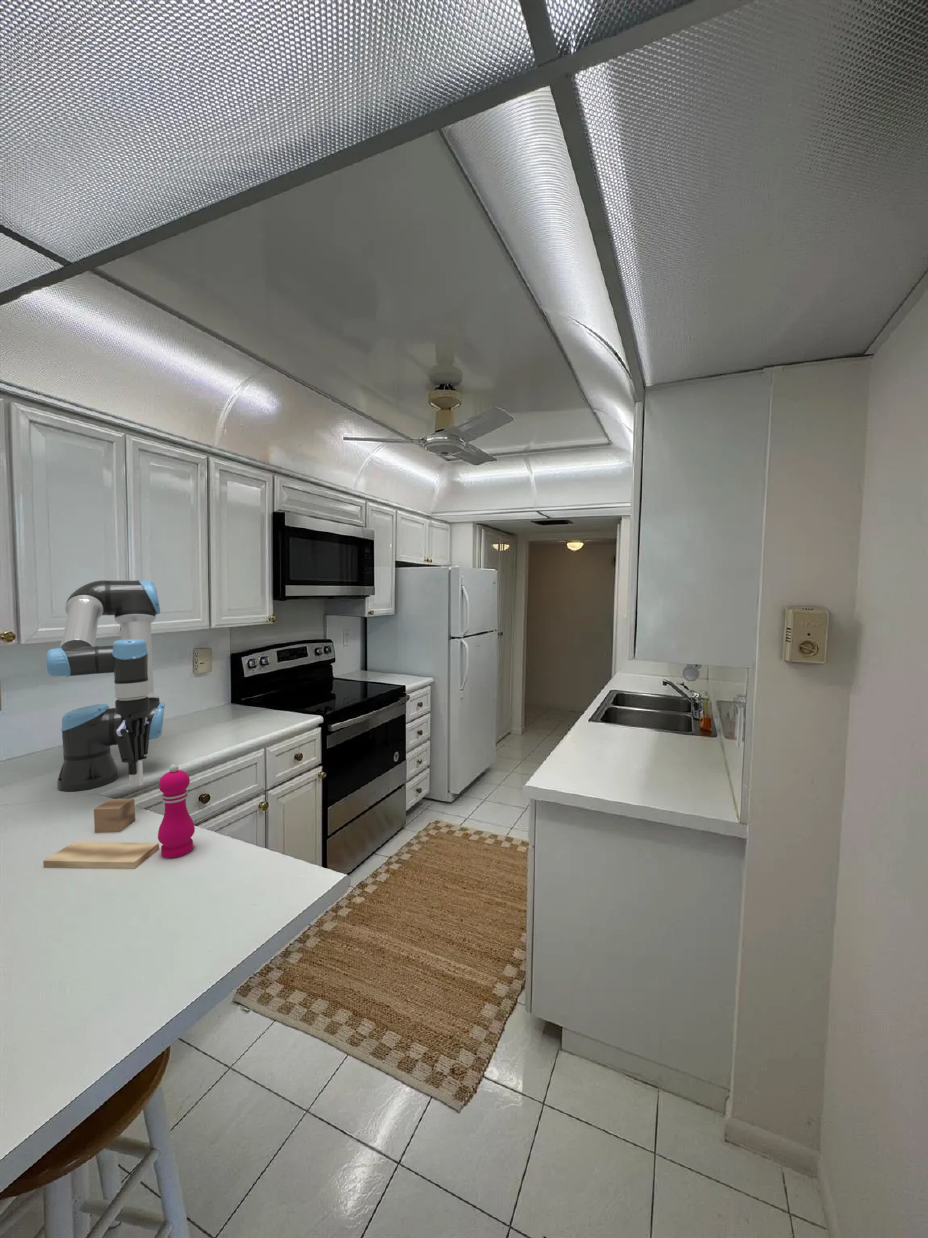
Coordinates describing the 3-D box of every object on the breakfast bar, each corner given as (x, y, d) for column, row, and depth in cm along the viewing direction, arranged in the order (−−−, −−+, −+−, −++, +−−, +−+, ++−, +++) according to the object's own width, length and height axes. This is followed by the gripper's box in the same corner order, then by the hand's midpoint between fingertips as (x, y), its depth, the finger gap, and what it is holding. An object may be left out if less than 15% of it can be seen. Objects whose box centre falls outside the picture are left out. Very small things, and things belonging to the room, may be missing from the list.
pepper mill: (202, 843, 115) (199, 759, 114) (181, 860, 108) (177, 770, 107) (173, 842, 116) (169, 758, 115) (150, 859, 109) (146, 769, 108)
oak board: (74, 850, 114) (74, 841, 114) (159, 851, 113) (158, 843, 113) (43, 870, 106) (43, 861, 106) (134, 871, 105) (134, 862, 105)
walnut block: (111, 822, 127) (110, 799, 127) (135, 821, 127) (134, 798, 127) (94, 833, 121) (93, 809, 121) (120, 832, 121) (119, 808, 121)
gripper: (133, 693, 138) (137, 776, 139) (100, 703, 125) (105, 795, 126) (160, 692, 138) (164, 775, 139) (131, 702, 125) (135, 794, 126)
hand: (136, 785), depth 132 cm, fingers closed
